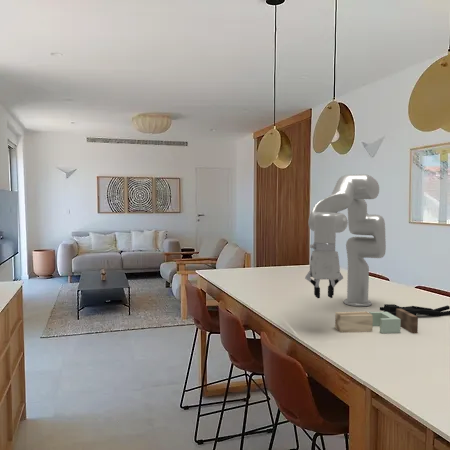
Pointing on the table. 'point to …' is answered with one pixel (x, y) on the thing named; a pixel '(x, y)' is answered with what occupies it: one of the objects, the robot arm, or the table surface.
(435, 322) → the table surface
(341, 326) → the beige wooden brick
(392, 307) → the toy
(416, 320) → the board
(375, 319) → the block
